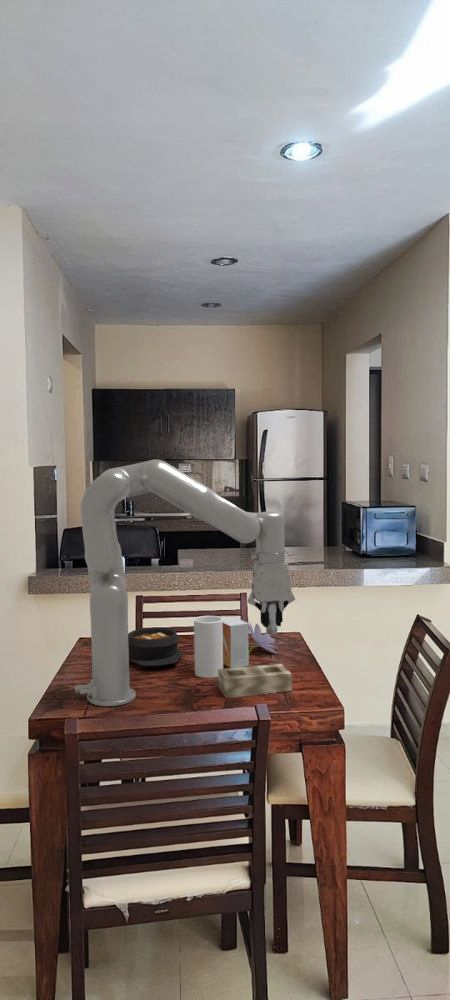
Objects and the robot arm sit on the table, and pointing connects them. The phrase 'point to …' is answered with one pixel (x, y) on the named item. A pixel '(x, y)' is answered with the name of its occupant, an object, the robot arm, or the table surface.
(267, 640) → the water lily
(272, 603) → the peg
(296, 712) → the table surface
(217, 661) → the cup
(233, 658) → the small box
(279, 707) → the table surface
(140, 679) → the table surface
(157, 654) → the casserole
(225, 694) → the hole block
